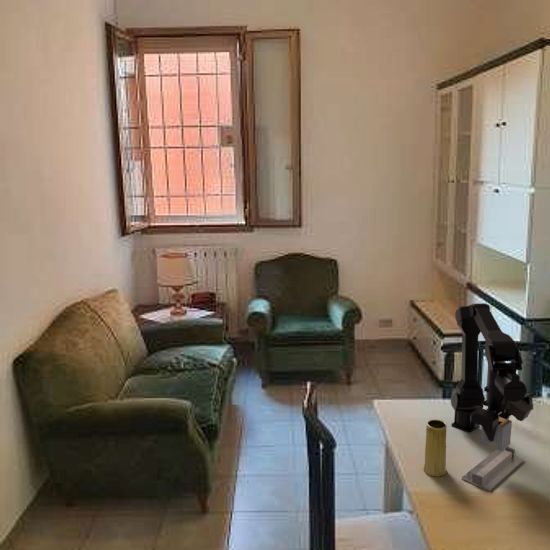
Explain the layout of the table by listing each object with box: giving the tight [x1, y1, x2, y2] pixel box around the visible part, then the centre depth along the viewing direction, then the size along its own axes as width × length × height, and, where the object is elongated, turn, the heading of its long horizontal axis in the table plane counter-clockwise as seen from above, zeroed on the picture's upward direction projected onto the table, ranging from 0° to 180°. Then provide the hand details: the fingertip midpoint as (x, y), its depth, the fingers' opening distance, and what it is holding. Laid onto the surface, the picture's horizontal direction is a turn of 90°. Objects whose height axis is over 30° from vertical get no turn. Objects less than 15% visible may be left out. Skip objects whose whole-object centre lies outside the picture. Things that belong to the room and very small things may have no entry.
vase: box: [423, 419, 447, 477], centre depth 155 cm, size 6×6×14 cm
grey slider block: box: [479, 417, 513, 451], centre depth 153 cm, size 6×5×7 cm
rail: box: [461, 446, 525, 493], centre depth 156 cm, size 8×20×3 cm, turn 133°
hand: (495, 437), depth 154 cm, fingers closed on grey slider block, 5 cm apart
